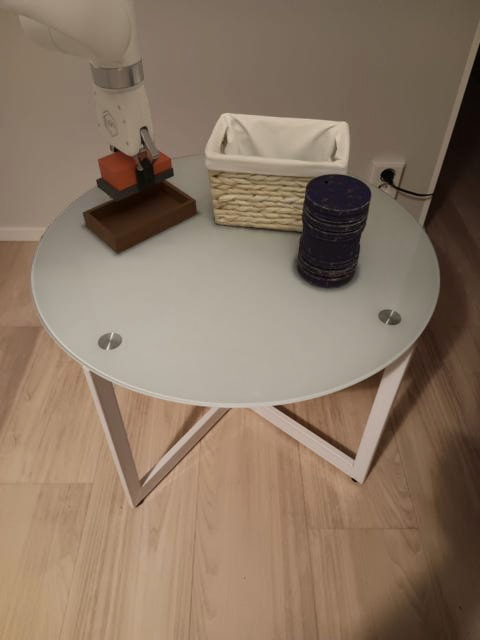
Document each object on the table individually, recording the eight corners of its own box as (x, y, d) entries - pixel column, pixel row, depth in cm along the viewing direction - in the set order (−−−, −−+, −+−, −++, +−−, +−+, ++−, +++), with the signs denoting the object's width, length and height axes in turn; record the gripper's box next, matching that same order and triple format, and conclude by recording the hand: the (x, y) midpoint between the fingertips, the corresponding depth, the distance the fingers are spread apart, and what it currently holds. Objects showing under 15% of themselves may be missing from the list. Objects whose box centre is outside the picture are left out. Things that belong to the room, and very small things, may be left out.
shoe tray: (117, 253, 88) (114, 239, 86) (85, 226, 93) (82, 212, 91) (196, 214, 96) (196, 200, 94) (163, 190, 101) (161, 177, 99)
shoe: (116, 202, 85) (111, 175, 81) (97, 187, 88) (91, 160, 84) (174, 176, 90) (171, 149, 86) (154, 163, 93) (150, 137, 90)
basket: (205, 227, 93) (200, 153, 82) (221, 180, 104) (220, 109, 93) (336, 241, 90) (349, 166, 80) (339, 191, 101) (351, 119, 91)
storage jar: (367, 275, 84) (386, 198, 73) (319, 296, 81) (332, 218, 70) (330, 243, 90) (343, 167, 79) (284, 261, 87) (291, 184, 76)
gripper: (66, 62, 78) (91, 168, 91) (129, 98, 69) (146, 209, 83) (108, 50, 82) (126, 153, 95) (173, 83, 73) (183, 192, 86)
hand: (135, 178), depth 88 cm, fingers closed on shoe, 6 cm apart
